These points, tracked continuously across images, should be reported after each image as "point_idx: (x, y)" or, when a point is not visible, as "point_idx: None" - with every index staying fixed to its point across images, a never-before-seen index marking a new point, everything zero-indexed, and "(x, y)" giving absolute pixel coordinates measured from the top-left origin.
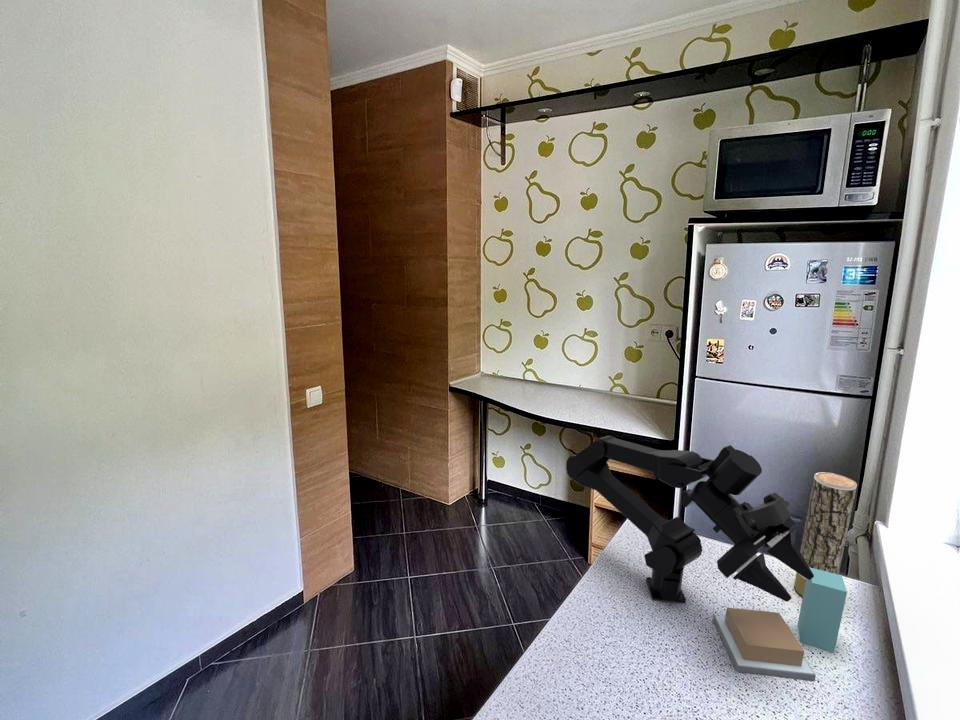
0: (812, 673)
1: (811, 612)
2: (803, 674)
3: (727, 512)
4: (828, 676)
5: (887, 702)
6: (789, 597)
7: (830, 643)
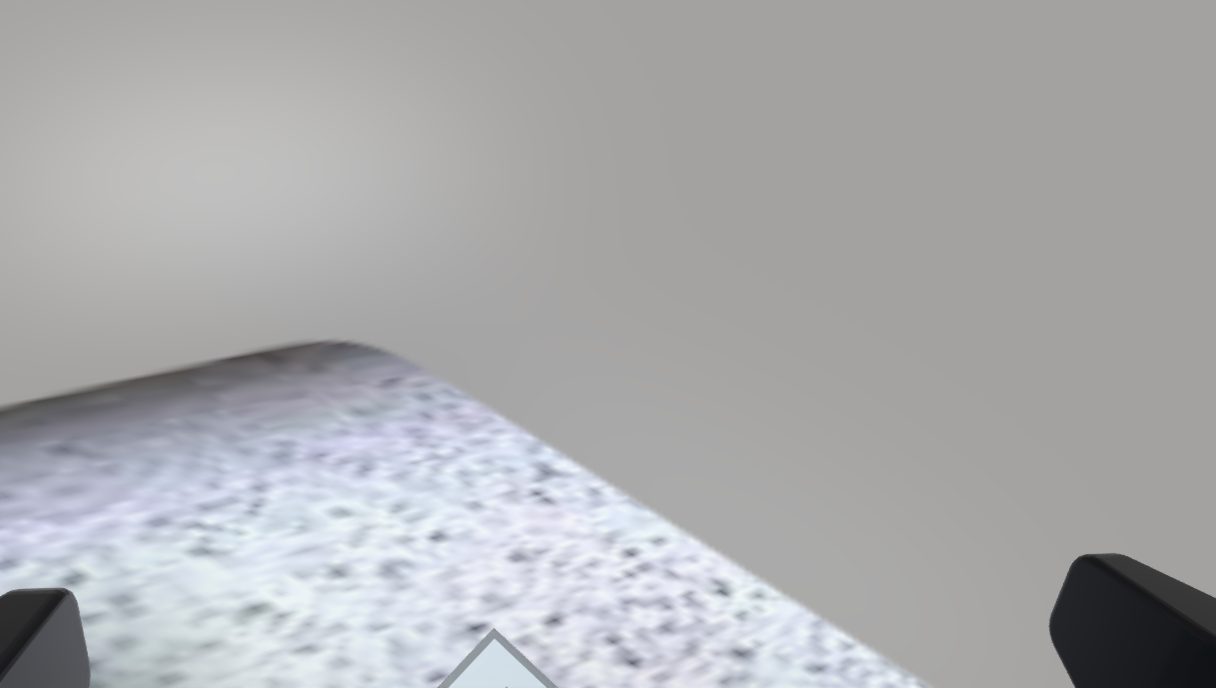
0: (502, 645)
1: None
2: (551, 682)
3: None
4: (376, 605)
5: (328, 362)
6: (1140, 563)
7: None
